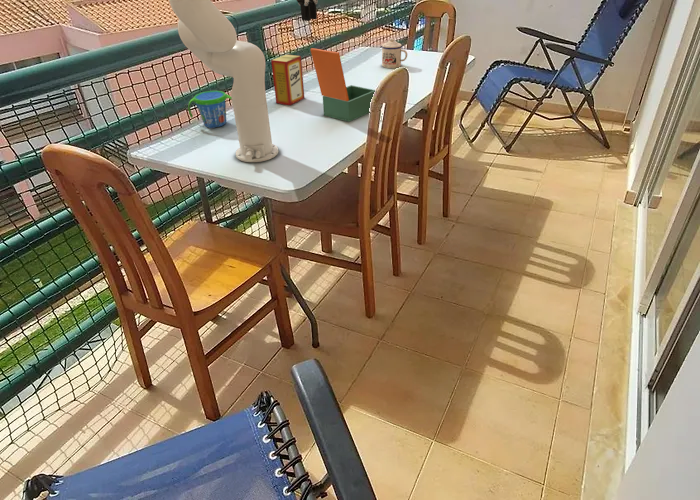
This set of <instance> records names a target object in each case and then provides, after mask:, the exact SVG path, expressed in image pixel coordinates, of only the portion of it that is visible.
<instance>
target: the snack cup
mask: <svg viewBox="0 0 700 500" xmlns="http://www.w3.org/2000/svg"><path fill="white" fill-rule="evenodd" d="M227 99H229V100H231V101H232V97H231V95H229V94H227V93H225V92H224V91H222V90H206V91H201V92H200V93H197V94H195V95H194V96H193V97H192V98H191V99H190V100H189V102H188V106H187V110H188V114H189V116H190V118H191V119H192V118H193V113H192V110H191V104H193V102H194V104H195V106H196V108H197V109H198V113H199V115H200V118H201V121H202V122H203V125H204V126H205V127H206V128H209V129H210V128H211V129H212V128H213V129H214V128H220V127H222V126H224V125H226V124H227V104H226V101H227Z"/></svg>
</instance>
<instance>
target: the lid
mask: <svg viewBox="0 0 700 500" xmlns="http://www.w3.org/2000/svg"><path fill="white" fill-rule="evenodd" d="M309 50H310V54H311V59H312V62H313V64H314V70H315V74H316V78H317V82H318V86H319V90H320V94H321V96H322V97H323V96H327V97H331V98H335V99H340V100H344V101H348V100H349V98H348V93H347V88H346V87H347V84H346V79H345V75H344V69H343V65H342V61H341V56H340V52H338V51H334V50H326V49H320V48H314V47H311V48H310V49H309Z"/></svg>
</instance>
